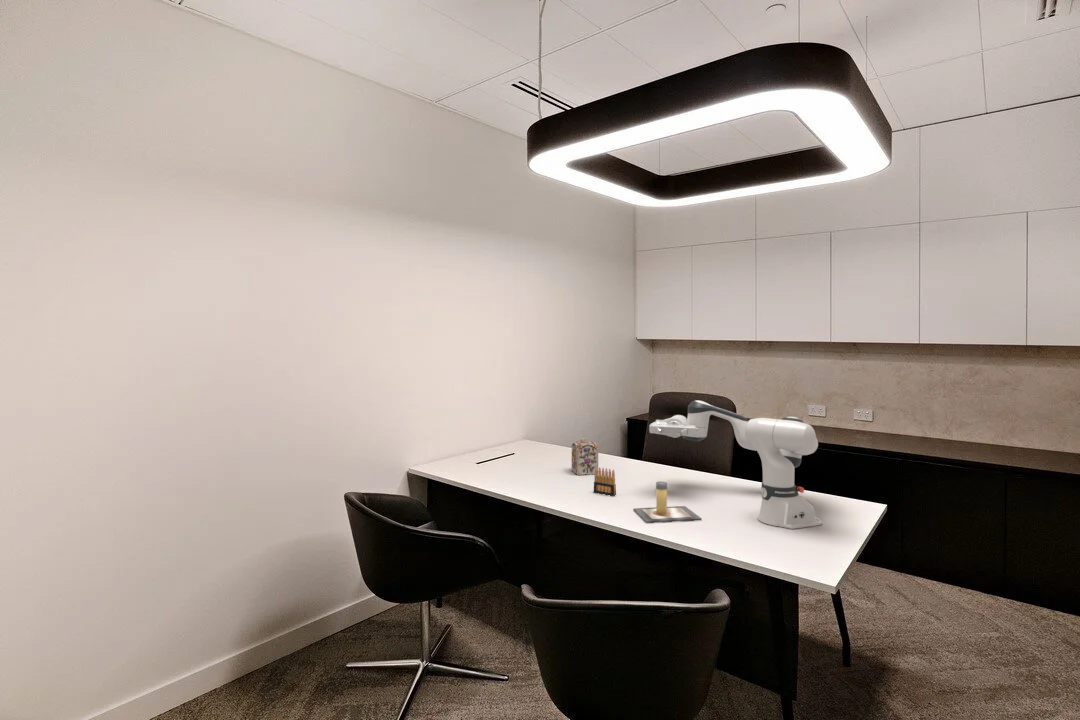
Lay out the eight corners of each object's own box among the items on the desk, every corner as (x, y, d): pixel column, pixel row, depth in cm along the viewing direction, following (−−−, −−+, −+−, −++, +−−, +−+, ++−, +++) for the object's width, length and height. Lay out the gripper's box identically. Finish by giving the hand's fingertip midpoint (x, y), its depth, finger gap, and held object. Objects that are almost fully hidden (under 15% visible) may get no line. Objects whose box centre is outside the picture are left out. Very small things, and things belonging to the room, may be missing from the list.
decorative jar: (576, 475, 282) (576, 441, 281) (571, 470, 293) (570, 437, 293) (599, 474, 284) (599, 440, 284) (592, 469, 296) (592, 436, 295)
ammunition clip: (616, 495, 246) (616, 469, 245) (614, 496, 244) (614, 469, 244) (595, 491, 252) (595, 465, 252) (593, 492, 251) (593, 466, 250)
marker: (664, 511, 220) (664, 481, 219) (668, 514, 216) (668, 483, 215) (654, 511, 219) (654, 481, 219) (658, 514, 215) (658, 484, 215)
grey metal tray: (684, 507, 227) (684, 505, 227) (701, 520, 211) (701, 517, 211) (633, 510, 224) (633, 507, 224) (646, 523, 208) (646, 520, 208)
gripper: (698, 435, 246) (695, 441, 233) (652, 433, 254) (646, 438, 241) (698, 421, 246) (695, 426, 233) (652, 419, 253) (646, 423, 240)
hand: (670, 432), depth 237 cm, fingers open, 8 cm apart
